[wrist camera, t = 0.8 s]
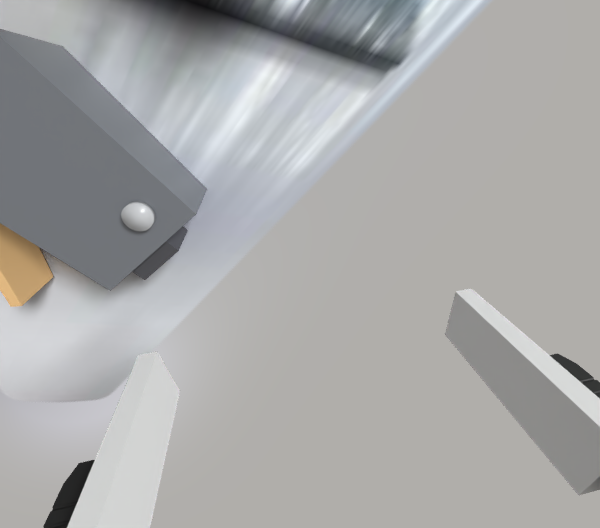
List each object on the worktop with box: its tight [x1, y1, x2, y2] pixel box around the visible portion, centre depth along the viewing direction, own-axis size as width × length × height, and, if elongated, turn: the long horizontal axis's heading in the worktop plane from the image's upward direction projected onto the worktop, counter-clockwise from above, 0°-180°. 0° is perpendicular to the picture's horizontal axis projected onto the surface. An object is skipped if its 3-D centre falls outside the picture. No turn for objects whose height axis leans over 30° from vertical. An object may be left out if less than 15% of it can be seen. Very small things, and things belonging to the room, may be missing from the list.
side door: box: [0, 223, 53, 307], centre depth 27 cm, size 14×1×6 cm, turn 178°
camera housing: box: [0, 29, 207, 291], centre depth 25 cm, size 18×12×9 cm
